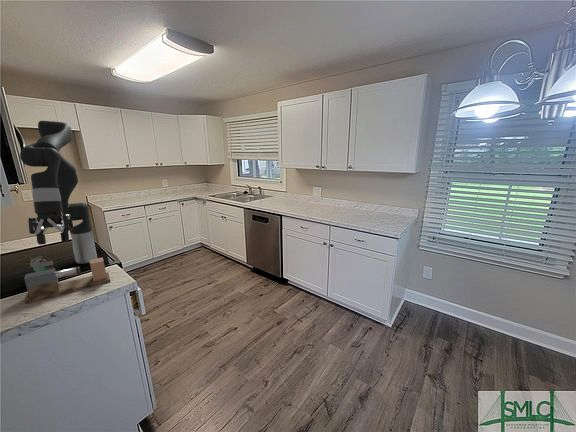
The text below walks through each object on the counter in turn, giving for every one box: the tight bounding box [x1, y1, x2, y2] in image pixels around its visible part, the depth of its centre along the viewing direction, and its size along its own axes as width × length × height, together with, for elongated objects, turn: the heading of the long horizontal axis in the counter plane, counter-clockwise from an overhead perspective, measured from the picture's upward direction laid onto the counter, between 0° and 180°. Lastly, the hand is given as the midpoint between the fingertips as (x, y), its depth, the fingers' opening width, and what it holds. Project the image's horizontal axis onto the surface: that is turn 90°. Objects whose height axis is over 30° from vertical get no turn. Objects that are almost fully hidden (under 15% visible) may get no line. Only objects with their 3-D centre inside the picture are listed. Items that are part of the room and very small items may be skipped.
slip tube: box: [55, 266, 81, 279], centre depth 106 cm, size 17×3×3 cm, turn 130°
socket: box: [89, 257, 107, 281], centre depth 116 cm, size 5×5×9 cm
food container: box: [29, 255, 55, 272], centre depth 116 cm, size 12×6×10 cm, turn 62°
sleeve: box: [23, 267, 57, 289], centre depth 103 cm, size 9×5×4 cm, turn 130°
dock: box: [24, 271, 111, 305], centre depth 110 cm, size 28×10×6 cm, turn 130°
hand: (53, 243), depth 93 cm, fingers open, 8 cm apart
